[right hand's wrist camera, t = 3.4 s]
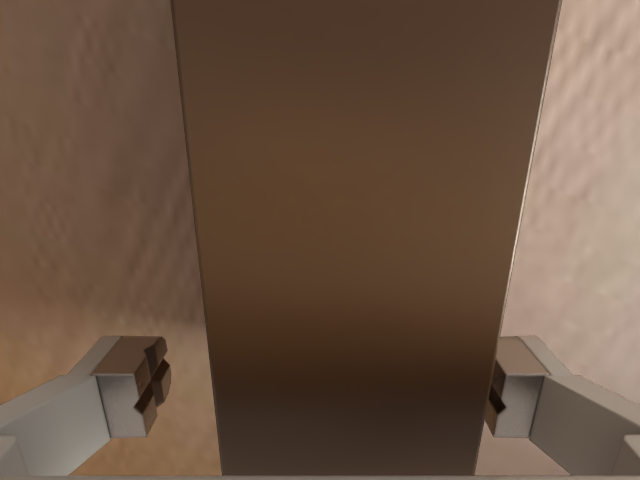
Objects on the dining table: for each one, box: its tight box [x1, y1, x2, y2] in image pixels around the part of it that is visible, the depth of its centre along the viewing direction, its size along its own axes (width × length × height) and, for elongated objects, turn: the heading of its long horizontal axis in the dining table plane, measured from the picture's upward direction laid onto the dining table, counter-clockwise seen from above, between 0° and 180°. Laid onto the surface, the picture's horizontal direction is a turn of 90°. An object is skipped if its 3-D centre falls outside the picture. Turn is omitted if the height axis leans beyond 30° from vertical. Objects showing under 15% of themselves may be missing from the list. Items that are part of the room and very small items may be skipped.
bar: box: [170, 0, 562, 476], centre depth 9 cm, size 22×6×8 cm, turn 0°
